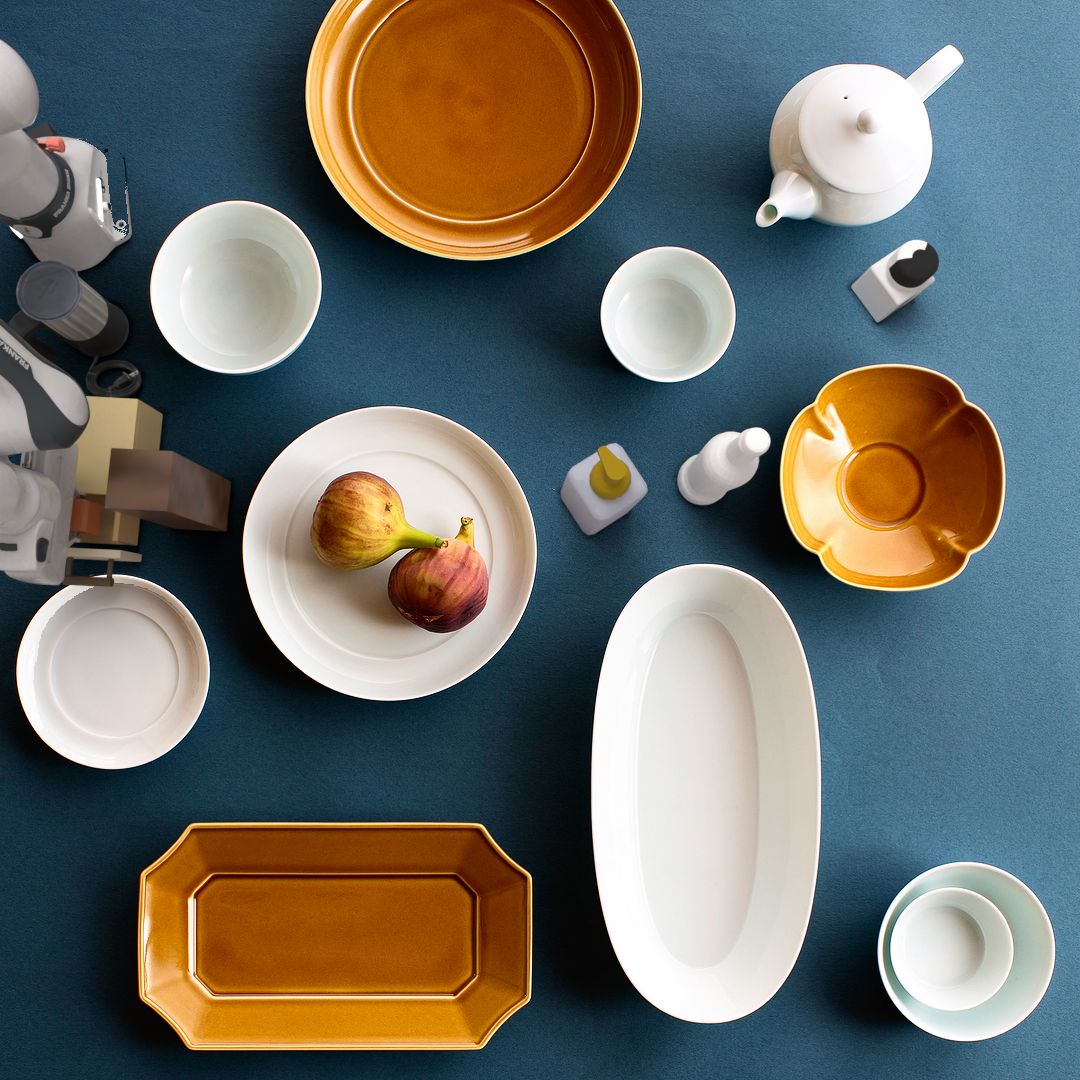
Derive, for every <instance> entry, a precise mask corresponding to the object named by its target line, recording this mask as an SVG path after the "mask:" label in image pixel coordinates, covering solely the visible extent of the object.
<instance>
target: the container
mask: <svg viewBox="0 0 1080 1080" xmlns="http://www.w3.org/2000/svg"><path fill="white" fill-rule="evenodd" d="M939 265H940V258H939V254H938V252H937V250H936V249H935V247H934V246H933V245H931V244H930V243H929V242H927V241H925V240H921V239H912V240H909V241H906V242H904V243H903V244H902V245H900V246H899V247H897V248H896V249H894V250H893V251H891V252H890V253H888V254H887V255H886V256H884V257H882V258H881V259H879V260H878V261H876V262H875V263H874V264H872V265H870V266H869V267H868V268H867V270H865V271H864V272H863V273H862V274H861V275H860V276H859V277H858V279H856V280H855V281H854V282H853V283H852V285H851V286H850V288H851V289H852V291H853V292H854V294H855V295H856V297H857V298H858V299H859V300H860V302H861V303H862V305H863V306H864V307H865V309H866V310H867V311H868V312H869V315H870V316H871V317H872V318H873V320H874V321H875V322H876V323H880V322H881V321H883V320H884V319H886V318H887V317H889V316H890V315H892V314H893V313H894V312H896V311H897V310H899V309H901V308H902V307H904V306H905V305H907V304H908V303H910V302H911V301H913V299H915V298H916V297H917V296H919V295H920V294H921V293H922V292H924V291H925V290H926V289H928V288H929V287H930V286H931V285H933V283H934V282H935V281H936V278H935V277H934V275H935V274H936V273H937V271H938V269H939Z"/></svg>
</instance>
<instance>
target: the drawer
mask: <svg viewBox="0 0 1080 1080" xmlns="http://www.w3.org/2000/svg"><path fill="white" fill-rule="evenodd" d="M85 500H88V501H91V502H94V503H98V504H101V512H100V521H99V530H98V535H92V534H81V539H80V542H75V543H77V544H78V543H80V544H98V545H119V546H120V545H121V546H138V541H139V532H140V523H141V519H140V518H136V517H133V516H130V515H126V514H123V513H119V512H116V511H113V510H109V509H106V508H105V500H106V495H94V494H86V496H85ZM142 557H143V555H142V553H138V552H137V553H136V552H132V551H128V550H121V549H108V548H107V549H105V548H104V549H103V548H85V547H69V548H68V549H67V558H66V567H65V577H64V580H63V581H62V582H61V584H62V585H64V586H76V587H77V586H78V587H79V586H80V587H102V588H113V587H114V586H115V579H114V577H113V574H114V566H115V565H114V564H115V562H130V563H131V562H132V563H133V562H134V563H141V562H142ZM74 560H92V561H107V569H106V577H105V576H85V575H83V576H82V575H73V567H74Z"/></svg>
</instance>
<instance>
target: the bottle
mask: <svg viewBox="0 0 1080 1080" xmlns="http://www.w3.org/2000/svg"><path fill="white" fill-rule="evenodd" d="M770 447H771V436H770V434H769V432H767V431H766V430H765V429H763V428H762V427H750V428H747V429H744V430H743V431H742V432H737V431H724V432H722V433H718V434H716V435H715V436H713V437H712V438H710V439H709V441H708V442H707V443H705V445H704V447H703V448H702V449H701V450H700V451H699V452H698V454H694V455H692V456H691V457H689V458H688V459H686V461H684V463H683V464H682V465H681V466H680V468H679V470H678V474H677V479H676V481H677V488H678V491H679V493H680V494H681V496H682V497H683V498H684V499H685V500H686V501H687V502H689V503H692V504H693V505H699V506H708V505H712V504H715V503H716V502H717V501H719V500H721V499H723V497H724V496H725V495H726V493H727V492H729V491H731V490H734V489H736V488H739V487H741V486H743V485H745V484H746V483H748V482H749V481H750V480H752V478H753V477H754V475H755V474H756V472H757V470H758V469H759V463H760V457H761V456H762V455H764V454H765V453H767V451H769V448H770Z"/></svg>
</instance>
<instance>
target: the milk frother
mask: <svg viewBox="0 0 1080 1080" xmlns="http://www.w3.org/2000/svg"><path fill="white" fill-rule="evenodd" d="M15 296H16V301H17V304H18V306H19V308H20V310H19V311H18V312H17V313H15V314H14V316H12V318H11V319H10V320H9V321H8V323H7V325H8V326H10V327H11V328H12V329H13V330H14V331H15V332H16V333H17V334H18V335H19V336H20V337H22V338H23V339H24V340H25V341H26V342H27V343H28V344H29V345H30V346H31V347H32V348H34V349H35V350H36V351H37V352H38V353H39V354H40V355H42V356H43V357H44V358H46V359H47V360H49V361H50V362H52V363H53V364H55V363H56V362H59V360H60V355H59V352H58V351H57V350H56V349H55V348H54V347H53V346H52V345H50V344H48V343H47V342H45V341H43V340H42V339H39V338H38V337H36V336H34V334H35V333H36V332H37V331H38V330H39V329H41V328H42V327H43V328H44V329H46V330H48V331H49V332H51V333H53V334H54V335H55V336H57V337H58V338H59V339H61V340H63V341H64V342H66V343H67V344H69V345H70V346H71V347H73V348H75V349H77V350H79V351H80V352H81V353H83V354H84V355H87V356H89V357H93V361H92V363H91V365H90V367H89V369H88V371H87V373H86V376H85V385H86V388H87V389H88V391H89V392H90V393H91V394H92V395H94V396H95V397H111V398H129V397H130V396H132V395H134V394H135V393H136V392H137V391H139V390H140V388H141V386H142V383H143V377H142V374H141V372H140V371H139V369H138V368H137V367H136V366H135V365H134V364H132V363H131V362H129V361H127V360H120V359H112V360H106V361H103V362H101V363H98V364H97V362H98V361H99V359H100V358H102V357H103V358H104V357H107V356H110V355H112V354H114V353H116V352H118V351H119V350H120V349H121V348H122V347H123V346H124V344H125V343H126V341H127V340H128V337H129V332H130V324H129V321H128V318H127V315H126V314H125V312H124V311H123V310H122V308H120V307H118V306H117V305H115V304H113V303H111V302H110V301H108V300H107V299H106V298H105V297H103V296H102V295H101V294H100V293H99V292H97V291H96V290H95V289H94V288H93V287H91V286H90V285H89V284H88V283H87V282H86V281H84V280H83V278H81V277H80V276H79V274H78V271H76V270H75V269H74V268H72V267H70V266H69V265H67V264H65V263H63V262H60V261H54V260H48V261H42V262H41V261H38V262H36V263H34V264H32V265H31V266H30V267H28V268H27V269H25V271H24V272H23V273H22V274H21V275H20V277H19V279H18V282H17V285H16V289H15ZM109 369H123V370H126V371H128V372H130V373H127V372H125V371H122V375H120V376H119V377H118V378H117V379H116V380H115V381H113V383H112V384H111V385H110V386H107V388H103V387H102V386H99V385H98V383H97V380H98V377H99V375H100V374H102V372H104V371H106V370H109Z"/></svg>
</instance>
